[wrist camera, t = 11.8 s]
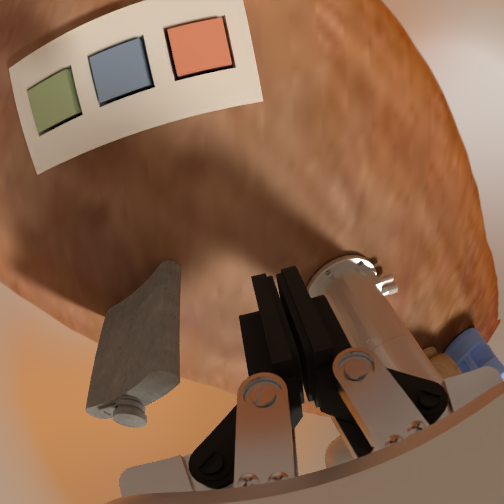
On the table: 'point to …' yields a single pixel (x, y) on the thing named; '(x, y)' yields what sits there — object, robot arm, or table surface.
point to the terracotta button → (199, 47)
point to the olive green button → (54, 100)
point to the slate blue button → (121, 70)
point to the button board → (143, 103)
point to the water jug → (472, 352)
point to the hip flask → (138, 350)
